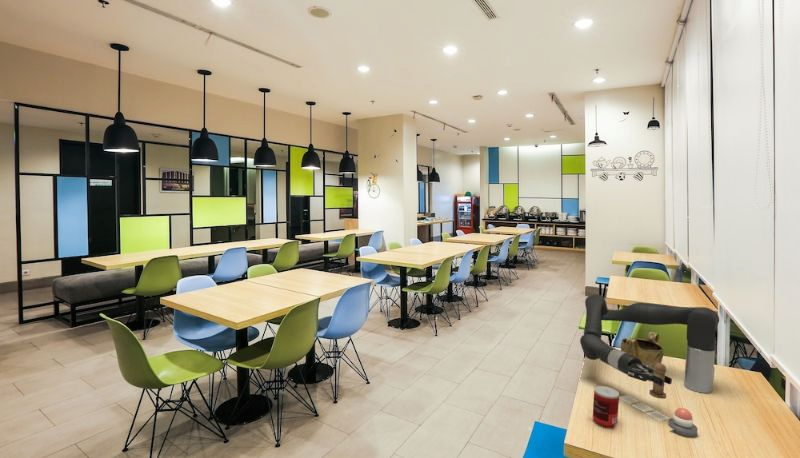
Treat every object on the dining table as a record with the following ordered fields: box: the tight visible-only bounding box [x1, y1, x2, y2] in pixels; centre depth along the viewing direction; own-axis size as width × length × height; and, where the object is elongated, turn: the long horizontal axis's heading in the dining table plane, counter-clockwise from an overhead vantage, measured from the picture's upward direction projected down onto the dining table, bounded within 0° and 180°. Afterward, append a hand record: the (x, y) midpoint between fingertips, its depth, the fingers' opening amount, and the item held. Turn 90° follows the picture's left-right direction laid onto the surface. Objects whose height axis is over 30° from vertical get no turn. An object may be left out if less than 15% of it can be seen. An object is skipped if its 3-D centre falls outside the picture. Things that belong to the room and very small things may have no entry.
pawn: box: [648, 362, 667, 400], centre depth 141 cm, size 5×5×12 cm
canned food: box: [592, 385, 620, 429], centre depth 138 cm, size 8×8×11 cm
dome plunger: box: [673, 407, 694, 428], centre depth 134 cm, size 5×5×5 cm
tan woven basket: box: [620, 331, 664, 367], centre depth 185 cm, size 22×17×15 cm
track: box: [619, 394, 671, 422], centre depth 147 cm, size 8×18×1 cm, turn 20°
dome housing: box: [667, 417, 698, 439], centre depth 134 cm, size 8×8×2 cm
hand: (666, 382), depth 138 cm, fingers closed on pawn, 3 cm apart
